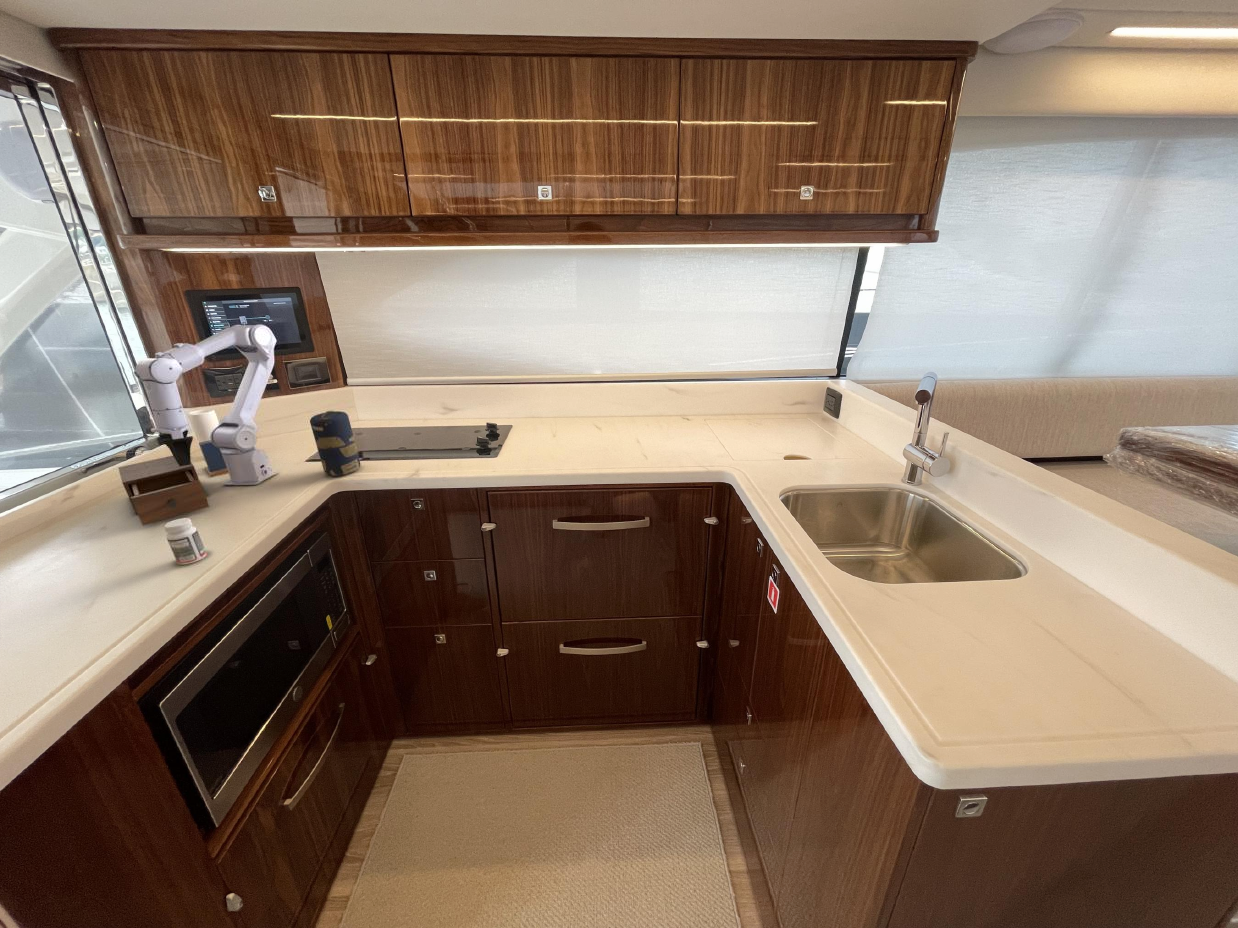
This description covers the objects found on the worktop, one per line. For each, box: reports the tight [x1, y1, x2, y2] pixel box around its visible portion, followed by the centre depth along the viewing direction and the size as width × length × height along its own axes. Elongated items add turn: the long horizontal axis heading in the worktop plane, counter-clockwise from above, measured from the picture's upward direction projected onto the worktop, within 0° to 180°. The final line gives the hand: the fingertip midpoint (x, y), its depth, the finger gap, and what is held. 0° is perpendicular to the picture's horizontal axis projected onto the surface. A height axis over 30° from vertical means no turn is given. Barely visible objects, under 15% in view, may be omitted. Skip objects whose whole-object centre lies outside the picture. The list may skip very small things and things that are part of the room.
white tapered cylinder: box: [187, 408, 220, 443], centre depth 158 cm, size 7×7×15 cm
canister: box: [309, 410, 361, 477], centre depth 140 cm, size 10×10×18 cm
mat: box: [204, 466, 229, 477], centre depth 151 cm, size 10×10×1 cm
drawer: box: [131, 470, 210, 526], centre depth 122 cm, size 16×12×7 cm
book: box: [198, 440, 227, 472], centre depth 149 cm, size 3×9×8 cm, turn 136°
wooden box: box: [118, 455, 200, 515], centre depth 130 cm, size 16×14×9 cm
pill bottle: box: [163, 517, 207, 566], centre depth 100 cm, size 5×5×8 cm
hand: (183, 462), depth 125 cm, fingers open, 7 cm apart
